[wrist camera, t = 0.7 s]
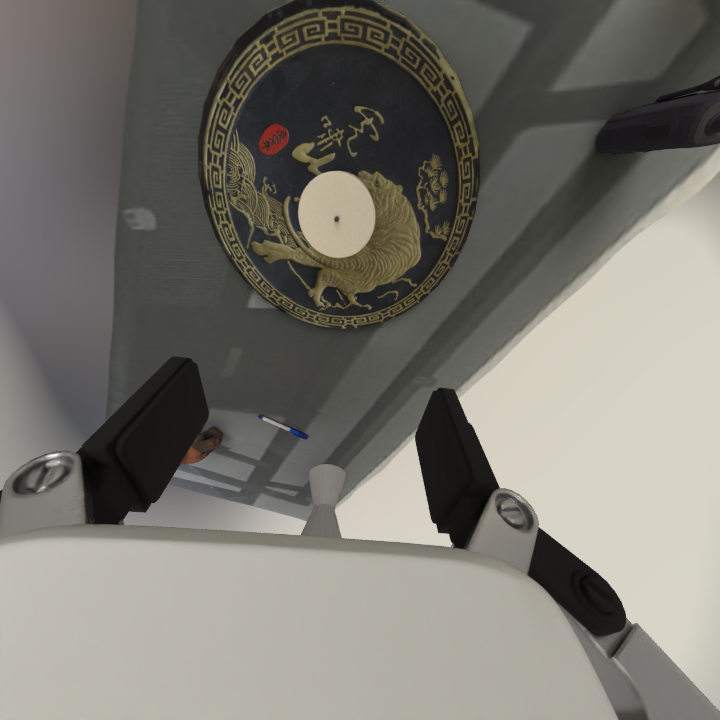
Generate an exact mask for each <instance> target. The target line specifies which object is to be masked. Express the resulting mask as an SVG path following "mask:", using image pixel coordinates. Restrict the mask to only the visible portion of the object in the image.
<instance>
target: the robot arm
mask: <svg viewBox="0 0 720 720" xmlns="http://www.w3.org/2000/svg"><path fill="white" fill-rule="evenodd" d="M208 415H209V411H208V407H207V403H206V399H205V395H204V391H203V387H202V383H201V379H200V375H199V370H198V366H197V364H196V363H194V362H193V361H192V359H190V358H184V357H175V356H174V357H171V358H170V359H169V360H168V361H167V362H166V363H165V364H164V365H163V366H162V367H161V368H160V369H159V370H158V371H157V372H156V373H155V374H154V375H153V376H152V377H151V378H150V379H149V380H148V381H147V382H146V383H145V384H144V385H143V386H142V387H141V388H140V389H139V390H138V391H137V392H135V393H134V394H133V395H132V396H131V397H130V398H129V399H128V400H127V401H126V402H125V403H124V404H123V405H122V406H121V407H120V408H119V409H118V410H117V411H116V412H115V413H114V414H113V415H112V416H111V417H110V418H109V419H108V420H107V421H106V422H105V423H104V424H103V425H102V426H101V427H100V428H99V429H98V430H97V431H96V432H95V433H94V434H93V435H92V436H91V437H90V438H89V439H88V440H87V441H86V442H85V443H84V444H83V445H82V447H81V448H80V449H79V450H78V452H76V453H75V452H72V451H56V452H52V453H48V454H45V455H42V456H40V457H37V458H35V459H33V460H31V461H29V462H28V463H26V464H24V465H22V466H21V467H20V468H19V469H17V470H16V471H15V472H14V473H12V475H11V476H10V477H9V478H8V479H7V481H6V482H5V485H4V487H3V490H1V491H0V720H720V711H719V710H718V709H717V708H716V707H715V706H714V705H713V704H712V703H711V702H710V701H709V699H708V698H707V697H706V696H705V695H704V694H703V693H702V692H701V691H700V690H699V689H698V688H697V687H696V686H695V685H694V684H693V682H692V681H691V680H690V679H689V678H688V677H687V676H686V675H685V674H684V673H683V672H682V671H681V670H680V669H679V668H678V666H677V665H676V664H675V663H674V662H673V661H672V660H671V659H670V658H669V657H668V656H667V655H666V654H665V653H664V651H662V649H661V648H660V647H659V646H658V645H657V644H656V643H655V642H654V641H653V640H652V639H651V637H649V635H648V634H647V633H646V632H645V631H644V630H643V629H642V628H641V627H640V626H639V625H638V624H637V623H635V624H631V622H630V621H629V620H628V619H627V618H626V614H625V610H624V608H623V605H622V602H621V601H620V599H619V598H618V596H617V594H616V593H615V591H614V590H613V589H612V588H611V586H610V585H609V584H608V582H607V581H606V580H604V579H603V578H602V577H601V576H600V575H599V574H598V573H596V572H595V571H594V570H593V569H591V568H590V567H589V566H588V565H586V564H585V563H584V562H583V561H581V560H580V559H579V558H577V557H576V556H575V555H574V554H572V553H571V552H570V551H569V550H567V549H566V548H565V547H563V546H562V545H561V544H560V543H558V542H557V541H556V540H554V539H553V538H552V537H551V536H549V535H548V534H547V533H545V532H544V531H543V530H542V529H540V528H539V527H538V525H539V523H538V518H537V515H536V513H535V511H534V510H533V508H532V506H531V505H530V504H529V503H528V502H527V501H526V500H525V499H524V498H523V497H522V496H520V495H519V494H517V493H515V492H514V491H512V490H509V489H505V488H503V489H502V488H501V489H500V487H499V485H498V483H497V481H496V478H495V476H494V474H493V472H492V469H491V467H490V465H489V462H488V460H487V458H486V456H485V453H484V451H483V449H482V446H481V444H480V442H479V440H478V437H477V435H476V433H475V430H474V428H473V427H472V425H471V424H470V423H468V421H467V419H466V416H465V414H464V411H463V409H462V407H461V404H460V402H459V400H458V397H457V395H456V393H455V391H454V390H453V389H447V388H438V390H437V391H433V393H432V395H431V397H430V400H429V402H428V405H427V407H426V410H425V412H424V414H423V417H422V419H421V422H420V424H419V427H418V429H417V431H416V435H415V441H416V446H417V451H418V456H419V461H420V466H421V471H422V476H423V481H424V485H425V491H426V496H427V501H428V505H429V510H430V515H431V520H432V522H433V523H435V524H436V525H437V529H438V533H447V534H449V535H450V540H451V542H452V543H453V544H452V546H451V547H443V546H433V545H422V544H411V543H400V542H386V541H385V542H384V541H372V540H371V541H370V540H358V539H357V540H356V539H344V538H330V537H315V536H300V535H299V536H298V535H285V534H269V533H254V532H239V531H238V532H237V531H223V530H206V529H190V528H174V527H157V526H156V527H155V526H133V525H124V522H123V519H124V518H125V516H126V515H127V513H128V512H129V511H131V512H146V511H147V510H148V508H149V506H150V505H151V503H155V502H156V501H157V500H158V499H159V498H160V496H161V495H162V493H163V491H164V490H165V488H166V486H167V485H168V483H169V481H170V480H171V478H172V477H173V475H174V473H175V472H176V470H177V468H178V467H179V465H180V464H181V462H182V460H183V459H184V457H185V455H186V454H187V452H188V450H189V449H190V447H191V446H192V444H193V442H194V441H195V439H196V437H197V436H198V434H199V433H200V431H201V429H202V428H203V426H204V424H205V423H206V421H207V419H208Z"/></svg>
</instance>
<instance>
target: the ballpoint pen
mask: <svg viewBox="0 0 720 720" xmlns="http://www.w3.org/2000/svg"><path fill="white" fill-rule="evenodd" d="M258 417H259V418H260V419H262V420H264V421H266V422H269V423H271V424H273V425H276V426H278V427H280V428H283V429H285V430H287V431H289V432H291V433H293V435H296V436H298V437H300V438H303V439H308V436H307V435H305V434H303V433H301V432H299V431H296V430H294V429H292V428H289V427H287V426H284V425H282V424H280V423H278V422H275V421H273V420H271V419H268V418H266V417H264V416H260V415H259V416H258Z"/></svg>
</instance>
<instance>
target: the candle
mask: <svg viewBox="0 0 720 720" xmlns="http://www.w3.org/2000/svg"><path fill="white" fill-rule="evenodd" d="M298 216H299V223H300V227H301V230H302V232H303V235H304V236H305V238H306V240H307V241H308V242H309V244H310V245H311V246H312V247H313V248H314V249H316V250H317V251H318V252H320V253H322V254H324V255H326V256H329V257H333V258H344V257H349V256H352V255H354V254H356V253H357V252H359V251H360V250H361V249H362V248H363V247H364V246H365V245H366V244H367V243H368V241H369V240H370V238H371V236H372V233H373V230H374V226H375V218H376V217H375V207H374V203H373V200H372V197H371V195H370V192H369V190H368V189H367V187H366V185H365V184H364V183H363V182H362V181H361V180H360V179H359V178H358V177H357V176H355V175H353V174H351V173H349V172H345V171H331V172H326V173H323V174H320V175H318V176H317V177H315V178H314V179H313V180H312V181H310V183H309V184H308V185H307V186H306V188H305V189H304V191H303V193H302V195H301V198H300V202H299V208H298Z"/></svg>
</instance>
